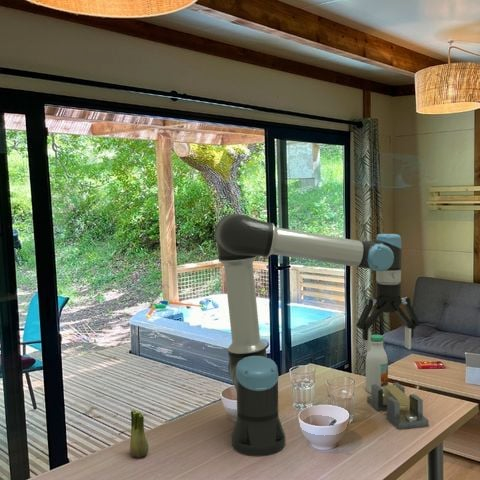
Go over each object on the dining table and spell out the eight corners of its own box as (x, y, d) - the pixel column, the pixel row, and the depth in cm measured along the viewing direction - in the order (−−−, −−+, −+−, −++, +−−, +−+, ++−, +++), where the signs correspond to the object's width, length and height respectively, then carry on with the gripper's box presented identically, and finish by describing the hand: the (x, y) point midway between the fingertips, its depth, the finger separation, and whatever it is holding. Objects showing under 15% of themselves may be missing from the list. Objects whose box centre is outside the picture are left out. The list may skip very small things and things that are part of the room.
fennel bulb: (130, 451, 142) (128, 408, 141) (148, 448, 143) (146, 406, 142) (130, 461, 136) (129, 417, 135) (149, 458, 137) (147, 414, 137)
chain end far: (393, 399, 174) (393, 379, 174) (405, 408, 166) (405, 387, 166) (367, 402, 173) (366, 381, 172) (377, 411, 165) (377, 390, 164)
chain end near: (398, 429, 151) (398, 406, 150) (386, 418, 159) (386, 396, 158) (428, 426, 153) (428, 403, 152) (414, 415, 161) (414, 394, 160)
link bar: (409, 414, 157) (409, 398, 156) (396, 415, 157) (396, 399, 156) (395, 399, 169) (395, 385, 168) (383, 400, 168) (383, 385, 168)
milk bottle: (373, 396, 178) (373, 339, 177) (361, 388, 185) (361, 334, 184) (392, 393, 180) (392, 337, 179) (379, 385, 188) (379, 332, 186)
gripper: (355, 285, 156) (355, 354, 157) (431, 283, 160) (430, 350, 161) (346, 282, 163) (346, 347, 164) (419, 280, 167) (418, 343, 168)
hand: (387, 349), depth 163 cm, fingers open, 13 cm apart
